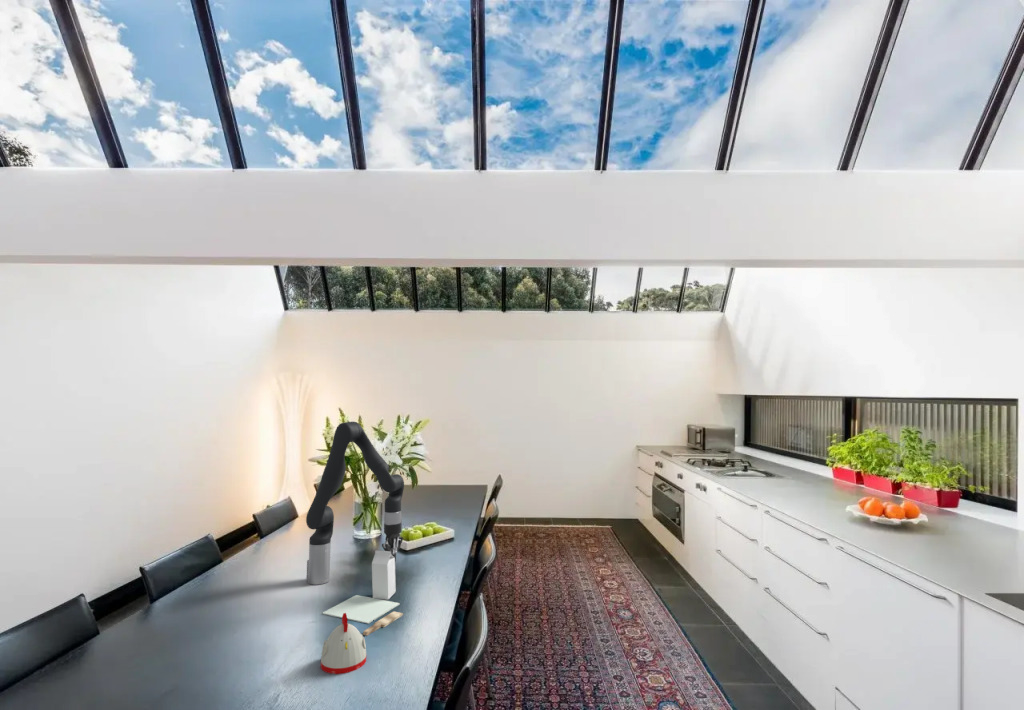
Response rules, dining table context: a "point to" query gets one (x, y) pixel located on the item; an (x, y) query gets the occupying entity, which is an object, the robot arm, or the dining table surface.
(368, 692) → the dining table surface
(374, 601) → the mat
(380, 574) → the milk carton
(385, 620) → the beech turner
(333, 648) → the kitchen timer
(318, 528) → the robot arm
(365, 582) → the dining table surface
